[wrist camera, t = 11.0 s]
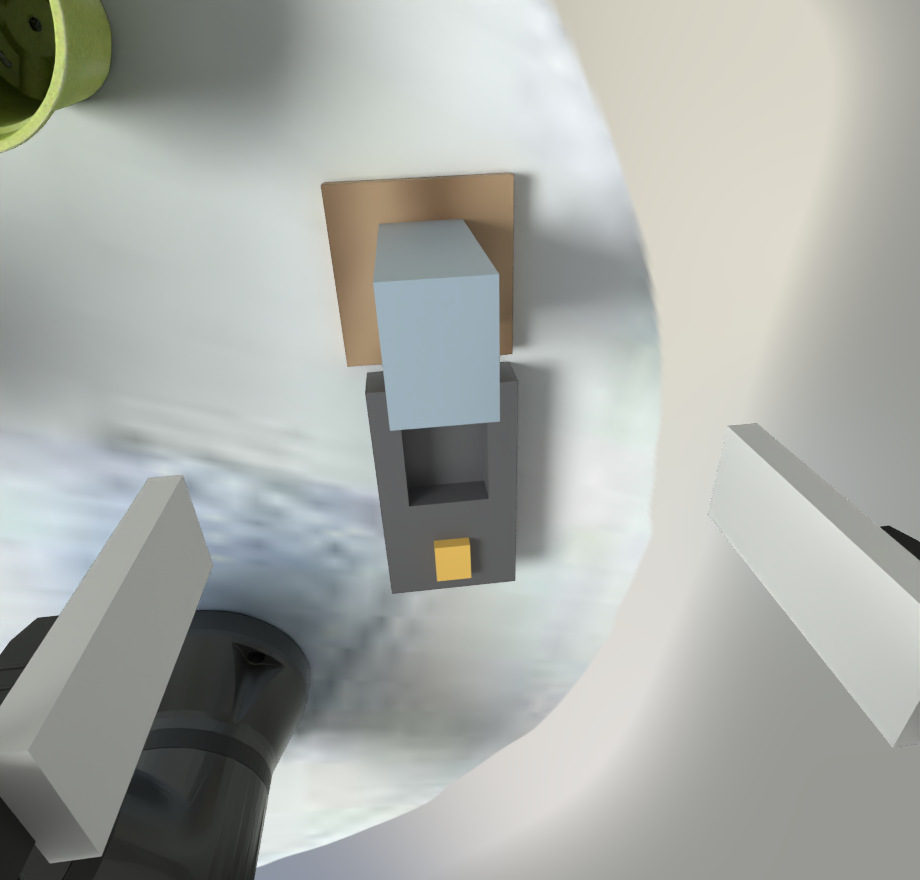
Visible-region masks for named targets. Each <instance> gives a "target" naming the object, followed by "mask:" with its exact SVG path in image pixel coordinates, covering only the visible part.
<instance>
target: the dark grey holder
mask: <svg viewBox="0 0 920 880" xmlns="http://www.w3.org/2000/svg"><path fill="white" fill-rule="evenodd" d="M365 395H366V402H367V410H368V417H369V425H370V432H371V440H372V447H373V455H374V462H375V469H376V477H377V484H378V492H379V499H380V507H381V514H382V522H383V529H384V536H385V544H386V551H387V559H388V566H389V574H390V581H391V589H392V594H394V593H404V592H413V591H423V590H432V589H442V588H452V587H461V586H471V585H480V584H490V583H499V582H509V581H515V560H516V483H517V407H518V380H517V378H516V376H515V374H514V372H513V370H512V368H511V365H510V363H509V362H501V363H500V422H488V423H476V424H464V425H452V426H441V427H429V428H417V429H405V430H393V431H390V426H389V417H388V409H387V400H386V391H385V382H384V374H383V372H371V373H367V379H366V391H365Z"/></svg>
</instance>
